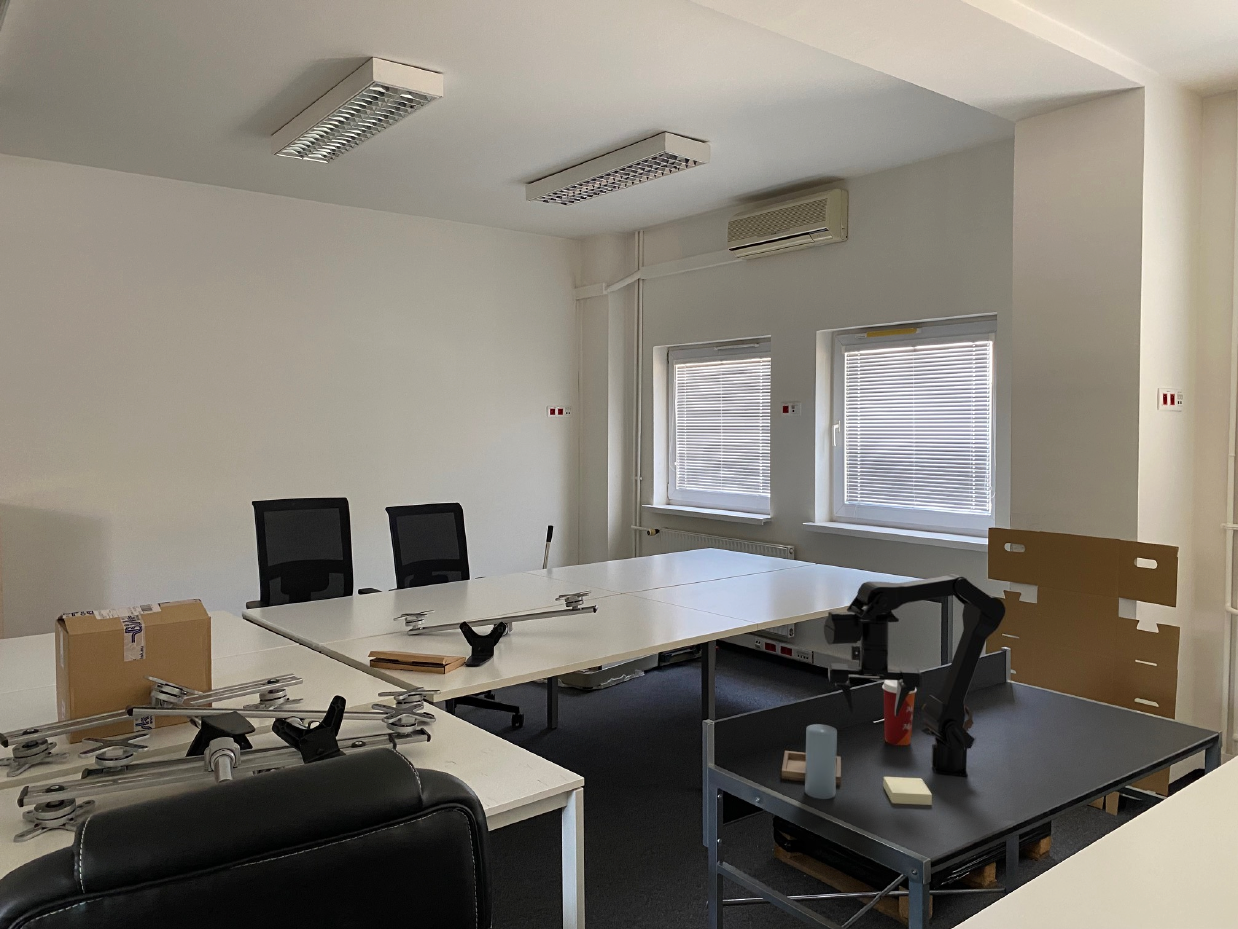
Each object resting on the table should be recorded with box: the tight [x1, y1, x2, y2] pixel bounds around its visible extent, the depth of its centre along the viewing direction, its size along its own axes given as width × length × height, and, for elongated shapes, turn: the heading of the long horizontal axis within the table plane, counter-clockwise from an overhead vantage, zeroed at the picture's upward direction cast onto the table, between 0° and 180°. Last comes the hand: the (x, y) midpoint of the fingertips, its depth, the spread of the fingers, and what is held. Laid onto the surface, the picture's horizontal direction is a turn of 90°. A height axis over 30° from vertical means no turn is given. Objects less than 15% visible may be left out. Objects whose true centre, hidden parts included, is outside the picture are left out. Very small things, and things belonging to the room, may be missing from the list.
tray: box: [781, 750, 842, 786], centre depth 184 cm, size 12×11×2 cm
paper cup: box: [881, 680, 917, 747], centre depth 202 cm, size 8×8×14 cm
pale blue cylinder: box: [804, 723, 838, 800], centre depth 174 cm, size 6×6×13 cm
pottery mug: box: [921, 703, 974, 732], centre depth 210 cm, size 12×10×8 cm
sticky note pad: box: [882, 776, 933, 806], centre depth 173 cm, size 8×8×2 cm
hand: (873, 714), depth 183 cm, fingers open, 9 cm apart
